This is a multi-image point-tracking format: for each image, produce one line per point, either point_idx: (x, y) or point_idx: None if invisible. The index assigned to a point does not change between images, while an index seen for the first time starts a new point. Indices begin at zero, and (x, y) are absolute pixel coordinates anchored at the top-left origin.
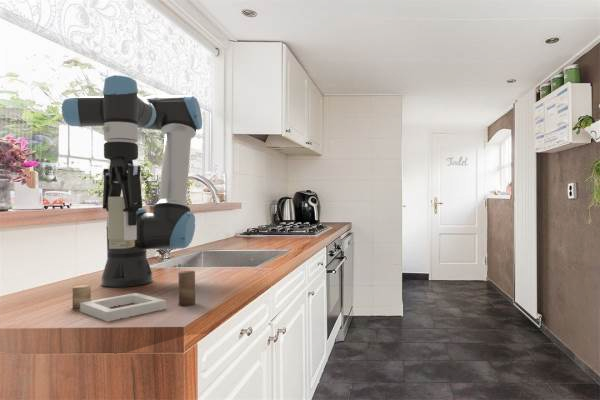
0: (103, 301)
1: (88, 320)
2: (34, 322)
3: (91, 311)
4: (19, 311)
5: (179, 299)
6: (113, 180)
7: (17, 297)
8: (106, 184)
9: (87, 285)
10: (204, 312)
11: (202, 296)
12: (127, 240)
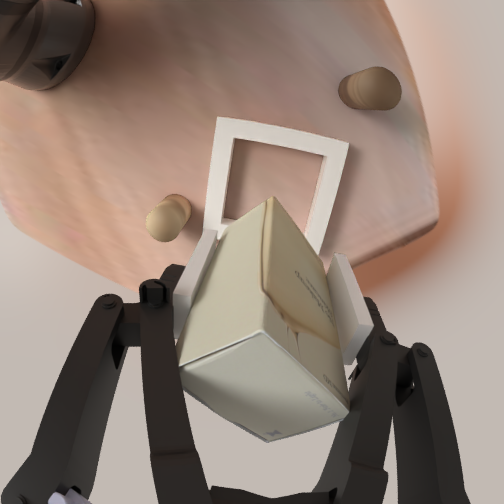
0: (223, 202)
1: None
2: None
3: None
4: (124, 272)
5: (353, 107)
6: (76, 464)
7: (33, 225)
8: (98, 454)
9: (156, 209)
10: (426, 136)
11: (329, 21)
12: (325, 276)
